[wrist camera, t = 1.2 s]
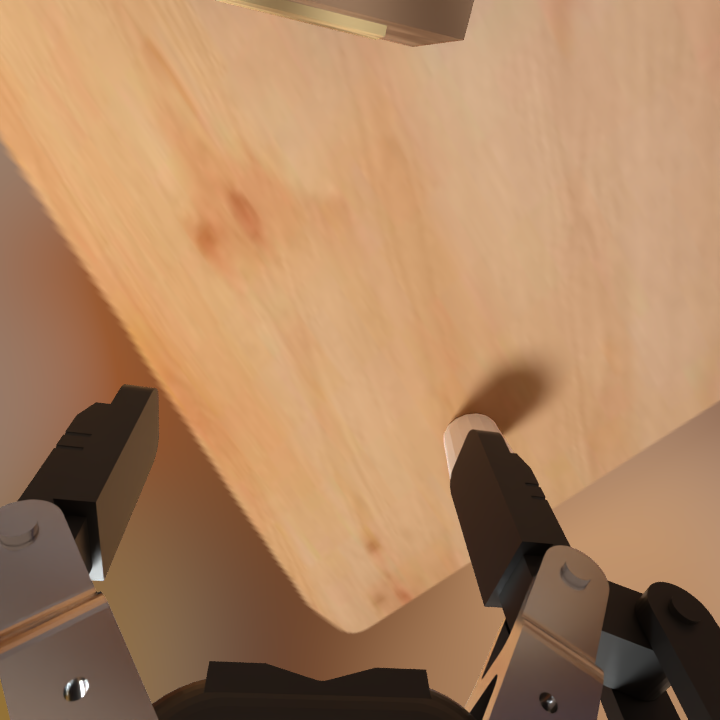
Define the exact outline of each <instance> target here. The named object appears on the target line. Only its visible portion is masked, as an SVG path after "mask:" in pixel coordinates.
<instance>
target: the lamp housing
mask: <svg viewBox="0 0 720 720" xmlns="http://www.w3.org/2000/svg"><path fill="white" fill-rule="evenodd" d="M216 1H220V2H224V3H228V4H232V5H236V6H240V7H244V8H248V9H252V10H256V11H260V12H265V13H269V14H273V15H277V16H281V17H285V18H289V19H293V20H297V21H301V22H305V23H309V24H313V25H317V26H321V27H325V28H330V29H334V30H338V31H342V32H346V33H350V34H354V35H358V36H362V37H366V38H370V39H374V40H376V39H383V40H387V41H391V42H395V43H400V44H404V45H408V46H412V47H415V46H422V45H430V44H438V43H445V42H453V41H460V40H464V37H465V33H466V29H467V25H468V22H469V18H470V14H471V10H472V6H473V2H474V0H216Z"/></svg>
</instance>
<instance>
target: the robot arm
mask: <svg viewBox="0 0 720 720" xmlns="http://www.w3.org/2000/svg"><path fill="white" fill-rule="evenodd" d="M158 409H159V405H158V390H157V389H156V388H150V387H149V388H148V387H141V386H134V385H126V384H124V385H123V386H122V387H121V388H120V390H119V391H118V393H117V394H116V396H115V398H114V400H113V401H112V403H111V404H105V403H95V404H93V405H91V406H90V407H88V408H87V409H85V410H84V411H82V412H81V413H79V414H78V415H77V416H76V417H75V418H74V420H73V422H72V423H71V424H70V426H69V427H68V429H67V430H66V433H65V435H63V436H62V437H61V439H60V440H59V442H58V443H57V446H56V448H54V449H53V450H52V452H51V453H50V455H49V456H48V458H47V459H46V461H45V462H44V464H43V465H42V466H41V468H40V469H39V471H38V472H37V474H36V475H35V477H34V478H33V480H32V481H31V482H30V484H29V485H28V487H27V488H26V490H25V491H24V493H23V494H22V496H21V497H20V498H19V500H18V501H17V502H14V503H10V504H7V505H5V506H2V507H1V508H0V678H1V683H2V687H3V691H4V695H5V699H6V703H7V707H8V711H9V715H10V720H597V716H598V710H599V704H600V700H601V703H602V705H603V708H604V710H605V713H606V716H607V718H608V720H680V718H679V716H678V714H677V712H676V709H675V707H674V705H673V704H672V702H671V699H670V697H669V695H668V694H667V691H666V690H667V689H668V688H669V687H670V686H672V688H673V690H674V692H675V694H676V696H677V698H678V700H679V702H680V704H681V706H682V708H683V710H684V712H685V714H686V716H687V718H688V720H720V628H719V626H718V625H717V623H716V622H715V620H714V618H713V617H712V615H711V614H710V613H709V611H708V610H707V609H706V608H705V607H704V606H703V604H702V603H700V602H699V601H698V600H697V599H696V598H695V597H694V596H692V595H691V594H690V593H688V592H687V591H685V590H683V589H682V588H680V587H678V586H676V585H673V584H670V583H666V582H656V583H653V584H652V585H650V587H649V588H648V589H647V590H646V591H645V593H644V594H642V593H639V592H637V591H634V590H631V589H629V588H626V587H623V586H621V585H618V584H615V583H612V582H610V581H608V580H607V578H606V576H605V574H604V573H603V571H602V570H601V568H600V567H599V566H598V565H597V564H596V563H595V562H594V561H593V560H592V559H591V558H590V557H588V556H587V555H586V554H584V553H583V552H581V551H579V550H577V549H574V548H572V547H570V545H569V543H568V541H567V539H566V537H565V535H564V533H563V531H562V529H561V527H560V525H559V523H558V521H557V519H556V517H555V515H554V513H553V511H552V509H551V507H550V505H549V503H548V501H547V500H545V495H544V493H543V491H542V489H541V487H539V483H538V482H537V480H536V478H535V476H534V474H533V472H532V470H531V468H530V467H529V466H528V465H527V464H526V463H525V462H524V461H523V460H522V459H521V458H520V457H519V456H518V455H517V454H515V453H510V451H509V449H508V447H507V445H506V442H505V440H504V438H503V436H502V435H501V434H500V433H498V432H491V431H483V430H475V429H472V430H470V431H469V432H468V434H467V436H466V439H465V441H464V443H463V446H462V448H461V450H460V453H459V455H458V458H457V460H456V462H455V465H454V467H453V470H452V473H451V479H450V490H451V495H452V498H453V502H454V505H455V508H456V512H457V515H458V519H459V522H460V525H461V529H462V532H463V535H464V539H465V542H466V546H467V549H468V552H469V556H470V559H471V563H472V566H473V569H474V573H475V576H476V579H477V583H478V586H479V590H480V593H481V596H482V600H483V603H484V606H485V607H501V608H503V611H504V614H505V618H504V620H503V622H502V624H501V625H500V627H499V630H498V632H497V635H496V637H495V639H494V642H493V644H492V647H491V649H490V652H489V654H488V657H487V659H486V661H485V663H484V666H483V668H482V671H481V673H480V675H479V678H478V680H477V683H476V685H475V688H474V690H473V692H472V694H471V696H470V698H469V700H468V702H467V703H466V705H465V707H464V708H463V707H462V706H461V705H459V704H458V703H457V702H455V701H453V700H452V699H450V698H449V697H447V696H445V695H443V694H441V693H439V692H437V691H435V690H433V689H430V688H429V684H428V679H427V673H426V670H420V669H394V668H373V669H369V670H365V671H361V672H358V673H354V674H350V675H346V676H342V677H339V678H335V679H331V680H327V681H318V680H315V679H311V678H308V677H305V676H302V675H299V674H296V673H293V672H290V671H287V670H284V669H281V668H278V667H275V666H272V665H268V664H266V663H241V662H239V663H238V662H215V661H210V662H209V667H208V672H207V677H206V679H204V680H200V681H196V682H193V683H190V684H188V685H185V686H183V687H180V688H178V689H176V690H174V691H172V692H170V693H168V694H166V695H165V696H163V697H162V698H160V699H159V700H157V701H156V702H154V703H153V704H152V703H151V701H150V699H149V696H148V694H147V692H146V690H145V687H144V685H143V683H142V680H141V678H140V676H139V673H138V671H137V669H136V667H135V664H134V662H133V659H132V657H131V655H130V653H129V650H128V648H127V646H126V643H125V641H124V639H123V636H122V634H121V632H120V630H119V627H118V625H117V623H116V620H115V618H114V616H113V613H112V611H111V609H110V606H109V604H108V602H107V600H106V598H105V596H104V595H103V593H102V592H98V593H97V591H96V590H95V588H94V585H93V583H92V581H91V580H98V581H104V579H105V577H106V575H107V572H108V570H109V567H110V565H111V562H112V560H113V558H114V555H115V553H116V551H117V548H118V546H119V543H120V541H121V539H122V536H123V534H124V532H125V529H126V527H127V524H128V522H129V520H130V517H131V515H132V512H133V510H134V508H135V505H136V503H137V500H138V498H139V496H140V493H141V491H142V488H143V486H144V484H145V481H146V479H147V476H148V474H149V472H150V469H151V467H152V465H153V462H154V459H155V455H156V452H157V447H158V439H159V417H158V416H159V415H158V414H159V410H158Z"/></svg>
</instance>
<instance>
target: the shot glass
mask: <svg viewBox="0 0 720 720" xmlns="http://www.w3.org/2000/svg"><path fill="white" fill-rule="evenodd" d="M472 429H475V430H483V431H491V432H498V433H500V434H501V435H502V433H501V431H500V430H499V428H498V427H497V425H496V424H495V422H494V421H493V420H492V419H491V418H489V417H488V416H486V415H482V414H478V413H475V414H466V415H463V416H461V417H459V418H456V419H455V420H454V421H453V422H451V423H450V424H449V425H448V427H447V428H446V430H445V432H444V446H445V452H446V458H447V464H448V470H449V476H450V479H451V473H452V470H453V467H454V465H455V462H456V460H457V458H458V455H459V453H460V450H461V448H462V446H463V443H464V441H465V439H466V436H467V434H468V432H469V431H470V430H472ZM502 436H503V435H502ZM503 438H504V436H503ZM504 440H505V442H506V445H507V447H508V449H509V451H510V453H514V452H513V450H512V449H511V447H510V446H509V444H508V443H507V441H506V439H505V438H504Z"/></svg>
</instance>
